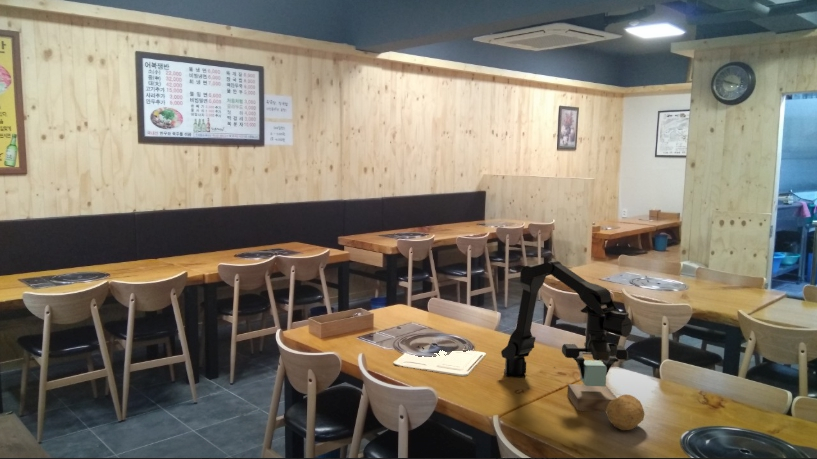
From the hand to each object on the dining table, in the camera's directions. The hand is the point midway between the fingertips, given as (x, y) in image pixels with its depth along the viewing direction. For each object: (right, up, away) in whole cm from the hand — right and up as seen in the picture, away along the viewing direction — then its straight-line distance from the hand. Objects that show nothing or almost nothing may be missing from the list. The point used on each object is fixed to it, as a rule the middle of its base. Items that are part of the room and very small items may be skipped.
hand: (593, 378), depth 182 cm
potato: (+4, -10, -16) cm, 19 cm away
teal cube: (0, -1, 0) cm, 1 cm away
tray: (-45, -3, +39) cm, 60 cm away
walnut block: (0, -8, +1) cm, 8 cm away
